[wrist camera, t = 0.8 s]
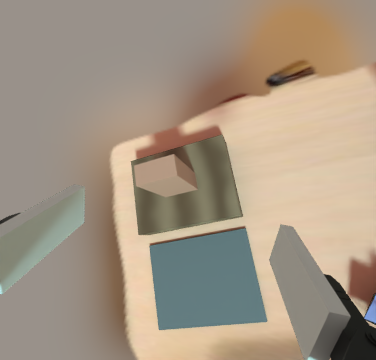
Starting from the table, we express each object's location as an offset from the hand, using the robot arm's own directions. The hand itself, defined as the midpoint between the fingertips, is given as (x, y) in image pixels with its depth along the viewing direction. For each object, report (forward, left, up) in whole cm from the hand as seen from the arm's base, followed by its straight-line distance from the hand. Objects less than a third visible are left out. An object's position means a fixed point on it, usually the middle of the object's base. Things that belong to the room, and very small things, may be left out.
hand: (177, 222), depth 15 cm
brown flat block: (+6, -9, -26) cm, 28 cm away
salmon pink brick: (+6, -9, -22) cm, 25 cm away
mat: (+6, +7, -26) cm, 28 cm away
